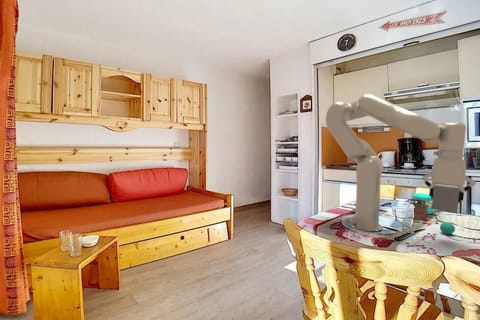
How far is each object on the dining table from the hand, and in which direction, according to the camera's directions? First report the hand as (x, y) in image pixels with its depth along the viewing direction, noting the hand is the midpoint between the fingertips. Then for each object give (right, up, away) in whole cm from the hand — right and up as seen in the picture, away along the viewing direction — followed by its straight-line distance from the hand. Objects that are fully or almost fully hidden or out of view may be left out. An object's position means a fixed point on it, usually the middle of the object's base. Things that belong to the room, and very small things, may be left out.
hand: (445, 200), depth 103 cm
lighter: (+11, -14, +32) cm, 36 cm away
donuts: (+21, -14, +43) cm, 50 cm away
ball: (+8, -13, +9) cm, 18 cm away
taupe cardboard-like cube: (0, -4, +1) cm, 4 cm away
